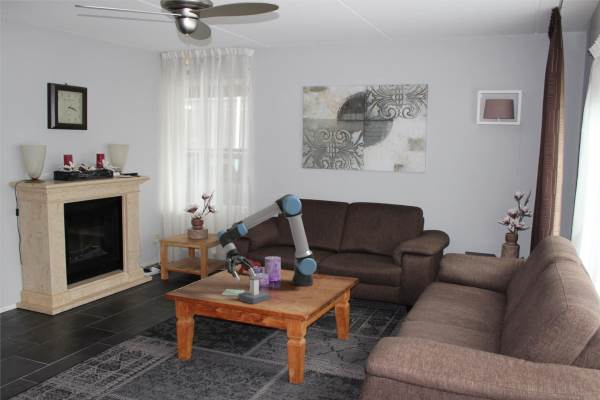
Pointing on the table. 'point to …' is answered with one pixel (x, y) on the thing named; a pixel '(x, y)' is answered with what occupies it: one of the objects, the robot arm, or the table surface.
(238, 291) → the pad
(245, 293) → the grey square socket block
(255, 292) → the plug
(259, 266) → the decorative bird sculpture
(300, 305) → the table surface
